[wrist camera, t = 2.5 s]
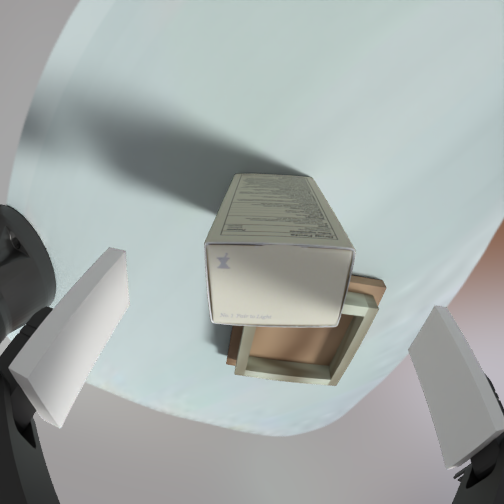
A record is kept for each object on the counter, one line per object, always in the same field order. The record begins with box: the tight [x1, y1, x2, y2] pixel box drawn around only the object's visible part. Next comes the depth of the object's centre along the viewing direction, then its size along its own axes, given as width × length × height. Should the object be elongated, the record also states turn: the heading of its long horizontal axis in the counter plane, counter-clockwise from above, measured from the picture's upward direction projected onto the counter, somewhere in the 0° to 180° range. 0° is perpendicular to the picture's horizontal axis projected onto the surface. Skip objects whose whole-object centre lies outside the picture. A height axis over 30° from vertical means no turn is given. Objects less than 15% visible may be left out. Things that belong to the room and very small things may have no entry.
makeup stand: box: [226, 275, 386, 386], centre depth 28 cm, size 13×13×3 cm
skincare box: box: [204, 174, 356, 328], centre depth 18 cm, size 6×4×12 cm
